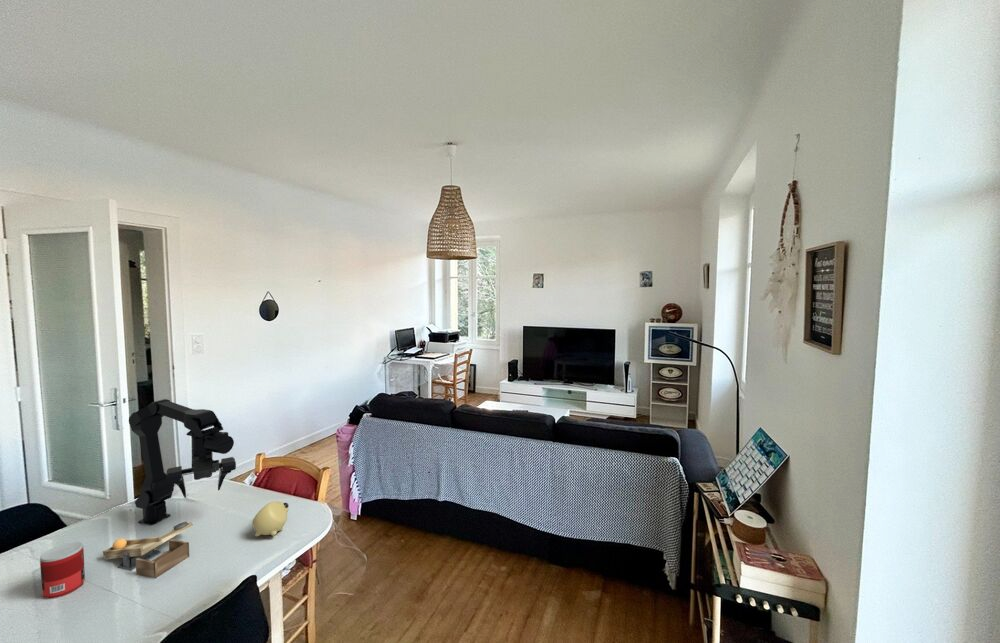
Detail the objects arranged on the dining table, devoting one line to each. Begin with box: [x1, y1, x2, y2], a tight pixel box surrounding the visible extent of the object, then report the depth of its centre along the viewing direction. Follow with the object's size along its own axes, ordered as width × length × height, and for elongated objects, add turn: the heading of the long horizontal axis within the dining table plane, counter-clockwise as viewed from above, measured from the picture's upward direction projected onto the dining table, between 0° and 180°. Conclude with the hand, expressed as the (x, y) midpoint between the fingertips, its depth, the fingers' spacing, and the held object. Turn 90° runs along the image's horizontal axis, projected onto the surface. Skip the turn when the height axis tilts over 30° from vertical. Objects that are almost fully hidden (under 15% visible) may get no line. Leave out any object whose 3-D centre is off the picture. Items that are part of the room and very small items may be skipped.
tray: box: [135, 538, 190, 579], centre depth 121 cm, size 7×10×4 cm
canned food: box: [39, 541, 86, 600], centre depth 110 cm, size 8×8×11 cm
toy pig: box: [251, 501, 289, 537], centre depth 138 cm, size 10×12×11 cm
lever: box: [102, 521, 194, 560], centre depth 128 cm, size 15×16×2 cm
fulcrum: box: [117, 548, 162, 572], centre depth 123 cm, size 5×8×4 cm, turn 168°
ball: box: [111, 537, 127, 550], centre depth 124 cm, size 3×3×3 cm
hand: (202, 493), depth 138 cm, fingers open, 9 cm apart
